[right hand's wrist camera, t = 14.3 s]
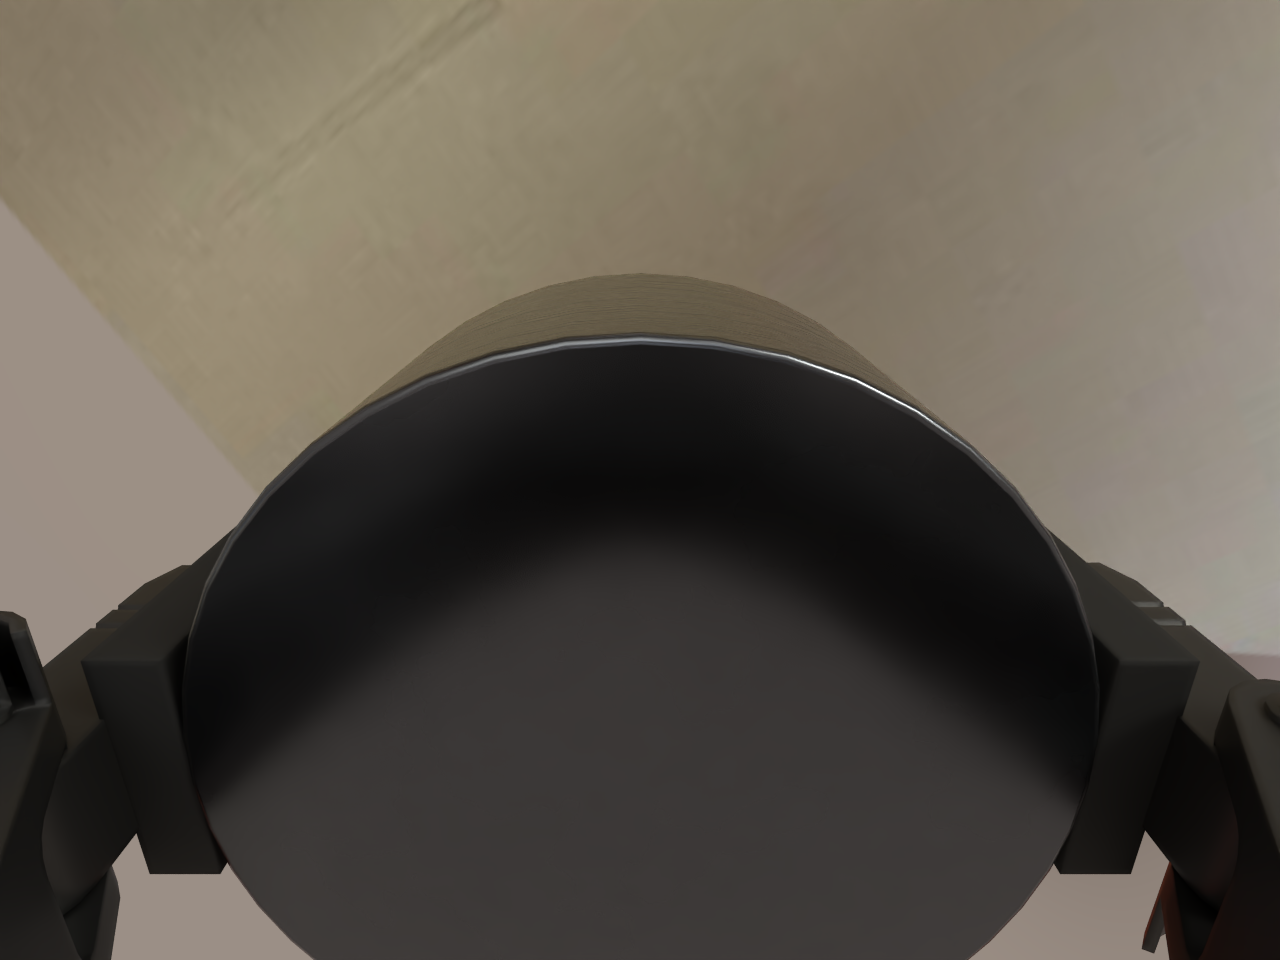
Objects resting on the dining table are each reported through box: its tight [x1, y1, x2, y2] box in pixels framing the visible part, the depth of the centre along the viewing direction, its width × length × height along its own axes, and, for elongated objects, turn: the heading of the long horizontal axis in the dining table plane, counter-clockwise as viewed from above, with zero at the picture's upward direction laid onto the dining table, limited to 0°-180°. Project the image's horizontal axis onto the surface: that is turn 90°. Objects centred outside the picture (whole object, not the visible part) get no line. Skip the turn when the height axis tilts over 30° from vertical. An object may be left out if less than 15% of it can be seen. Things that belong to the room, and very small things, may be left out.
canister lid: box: [182, 273, 1100, 960], centre depth 9 cm, size 9×9×4 cm
